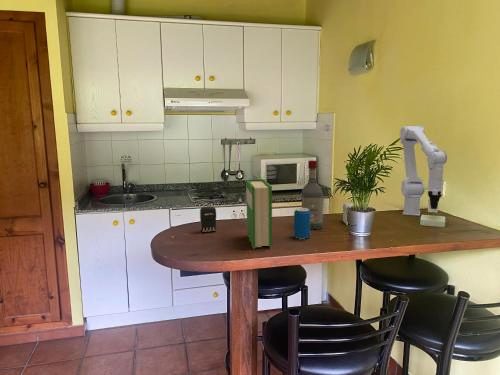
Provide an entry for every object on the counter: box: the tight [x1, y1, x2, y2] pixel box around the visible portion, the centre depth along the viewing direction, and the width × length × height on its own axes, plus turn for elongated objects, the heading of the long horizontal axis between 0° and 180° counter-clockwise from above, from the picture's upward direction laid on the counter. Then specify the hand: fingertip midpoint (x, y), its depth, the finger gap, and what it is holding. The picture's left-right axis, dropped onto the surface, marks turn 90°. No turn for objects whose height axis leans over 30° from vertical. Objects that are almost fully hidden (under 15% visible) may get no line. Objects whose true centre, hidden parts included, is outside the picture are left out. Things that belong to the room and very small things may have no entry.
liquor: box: [301, 159, 324, 230], centre depth 174 cm, size 9×9×30 cm
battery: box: [199, 205, 217, 231], centre depth 170 cm, size 7×4×11 cm, turn 102°
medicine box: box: [342, 202, 353, 226], centre depth 181 cm, size 8×4×9 cm, turn 179°
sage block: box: [419, 214, 446, 228], centre depth 179 cm, size 10×10×2 cm
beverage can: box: [293, 207, 311, 240], centre depth 160 cm, size 6×6×12 cm
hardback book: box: [245, 178, 273, 248], centre depth 154 cm, size 18×7×24 cm, turn 7°
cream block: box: [427, 198, 439, 213], centre depth 178 cm, size 4×4×5 cm
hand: (433, 207), depth 178 cm, fingers closed on cream block, 4 cm apart
